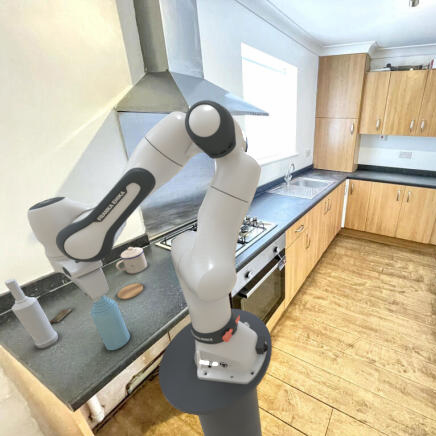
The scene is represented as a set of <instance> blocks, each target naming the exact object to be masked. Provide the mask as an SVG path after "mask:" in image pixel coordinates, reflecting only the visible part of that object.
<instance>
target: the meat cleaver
mask: <svg viewBox="0 0 436 436" xmlns="http://www.w3.org/2000/svg"><path fill="white" fill-rule="evenodd" d="M71 311H73V309H72V308H68V309H62V310H60V312H59V313H58V314H57V315H55V317H53V318H52V319H51V320H48V321H49V322H50V324H51V325H52V324H53V323H60V321H61V320H62V319H63V318H64V317H66V316H67V315H68V314H69V313H70V312H71Z"/></svg>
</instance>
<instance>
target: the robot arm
mask: <svg viewBox="0 0 436 436" xmlns="http://www.w3.org/2000/svg"><path fill="white" fill-rule="evenodd" d="M248 141H249V140H248V137H247V135H246V134H245V132H244V131H243V129H242V127H241V125H240V123H239V122H238V121H237V119H236V118H235V117H234V116H233V115H232V113H231V112H230V111H229V110H228V109H227V108H226V107H225V106H224V105H222V104H221V103H219V102H216V101H214V100H208V99H205V100H200V101H196V103H194V104H192V105H191V106H190V107H189V108H188V110H187V112H183V111H179V110H175V111H172V112H170V113H168V114H167V115H166V116H164V117H163V118H162V119H161V120H160V121H158V122H157V123H156V124H154V126H153V127H152V128H151V129H149V131H148V132H147V133H146V134H145V135H144V136H143V138H142V139H141V140H139V142H138V144H137V146H136V147H135V148H134V150H133V151H132V153H131V155H130V157H129V159H128V161H127V162H126V165H125V166H124V169H123V170H122V172H121V174H120V176H119V177H118V179H117V181H116V182H115V184H114V185H113V187H112V188H111V189H110V190H109V191H108V193H106V195H105V196H104V197H103V198H102V200H100V201H99V203H97V204H96V203H87V202H81V201H77V200H73V199H71V198H69V197H66V196H56V197H51V198H48V199H45V200H42V201H39V202H37V203H35V204H34V205H32V206H30V207H29V208H28V210H27V212H26V213H27V215H26V216H27V221H28V223H29V226H30V229H31V230H32V233H33V234H34V236H35V238H36V240H37V241H38V242H39V243H40V244H41V245H42V247H43V249H44V254H45V256H46V258H47V261H48V262H49V263H50V265H51V266H50V267H52V269H53V271H54V272H55V273H61V274H63V275H65V276H66V277H67V278H68V279H69V280H70V281H71V282H72V283H73V284H75V285H76V286H77V287H78V288H79V289H80V290H81V291H82V292H83V294H84V295H85V296H88V297H89V296H90V297H89V299H90V301H92V302H93V303H94V302H96V301H98V300H100V299H101V297H102V296H103V295H105V296H106V295H108V293H109V289H110V288H109V285H108V282H107V278H106V276H105V273H104V271H103V269H102V267H103V261H102V260H104V259H106V257H108V256H109V255H110V254H111V252H112V250H113V248H114V245H116V242H117V240H118V239H119V237H120V236H121V234H122V233H123V231H124V229H125V228H126V225H127V220H128V219H129V218H130V217H131V215H133V213H134V212H135V211H136V210H137V209H138V207H139V206H140V205H141V204H142V203H143V202H144V201H145V200H147V199H148V198H149V197H150V196H151V195H153V194H154V193H156V192H157V191H158V190H159V189H161V188H162V187H163V186H164V185H166V184H167V183H169V182H170V181H171V180H172V179H173V178H174V177H176V176H177V175H178V174H179V173H180V172H181V171H182V170H183V169H184V168H185V166H186V165H187V164H188V163H189V162H190V161H191V160H192V159H193V158H194V157H195V156H196V155H198V154H201V153H202V154H205V155H206V156H207V157H209V158H210V159H212V160H213V159H214V161H215V172H214V175H213V177H212V180H211V182H210V184H209V186H208V189H207V191H206V194H205V195H204V198H203V200H202V202H201V205H200V207H199V210H198V212H197V216H196V217H197V218H196V219H197V220H196V221H197V226H196V227H197V228H196V231H193V230H188V231H184V232H182V233H180V234H178V235H176V237H174V239H173V240H172V242H171V244H170V255H171V256H170V257H171V261H172V264H173V267H174V270H175V274H176V276H177V279H178V280H177V281H178V283H179V286H180V289H181V291H182V295H183V297H184V300H185V304H186V306H187V310H188V314H189V318H190V322H191V332H192V334H193V337H194V338H195V356H194V359H195V363H196V365H197V376H198V379H200V380H209V381H219V382H228V383H237V384H248V383H250V382H251V381H252V380H253V379H254V378H255V377H256V375H257V374H258V372H259V371H260V369H261V367H262V365H263V362H264V360H265V357H266V353H267V350H268V345H267V344H266V341H265V336H263V335H258V336H257V334H256V333H255V332H254V331H253V330H252V329H250V328H249V327H250V325H249V324H248V323H247V322H245V323H244V324H243V323H242V322H240V321H239V319H240V315H239V316H238V318H236V316H235V314H234V313H233V311H232V309H233V308H231V303H230V295H229V294H230V293H231V292H232V291H233V289H234V288H235V287H236V283H237V278H238V277H237V270H236V252H237V245H238V239H239V235H240V231H241V228H242V225H243V223H244V220H245V218H246V215H247V213H248V211H249V209H250V207H251V203H252V202H253V199H254V197H255V194H256V191H257V189H258V185H259V182H260V178H261V172H262V167H261V164H260V162H259V161H258V159H256V158H255V157H254V156H253V155H251V153H248V151H249V142H248ZM252 373H254V374H253V375H251V374H252ZM205 374H207V375H205Z"/></svg>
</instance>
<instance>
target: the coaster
mask: <svg viewBox="0 0 436 436" xmlns="http://www.w3.org/2000/svg"><path fill="white" fill-rule="evenodd" d="M143 290H144V286H143V284H141V283H139V282H137V283H131V284H128V285H125V286H124V287H122V288H121V289H120V290H119V291H118V292H117V298H118V299H119V300H129V299H132V298H135V297H137V296H138V295H140V294H141V293H142V292H143Z"/></svg>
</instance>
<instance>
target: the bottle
mask: <svg viewBox="0 0 436 436" xmlns="http://www.w3.org/2000/svg"><path fill="white" fill-rule="evenodd" d="M4 284H5V286H6V288H7V289H8V290H9V292H10V293H11V295H12V296H13V298H14V304H13V305H12V307H11V311H12V312H13V313H14V315H15V316H16V318H17V319H18V320H19V321H20V323H21V324H22V326H23V327H24V329H25V330H26V332H27V333H28V334H29V335H30V337H31V339H32V340H33V342H34V344H35V346H36V348H38V349H45V348H48V347H50V346H52V345H53V344H55V343H56V342H57V341H58V339H59V335H58V333H57V331H55V330H54V328H53V325H52V324H50V322H49V321H50V320H49V319H48V317H47V315H46V313H45V312H44V309H43V308H42V306H41V304H40V302H39V300H38V299H37V297H32V296H31V297H29V296H27V295H26V294H25V293H24V291H23V289H22V288H21V287H20V285H19V283H18V281H17V280H16V278H10V279H7V280H5V281H4Z"/></svg>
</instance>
